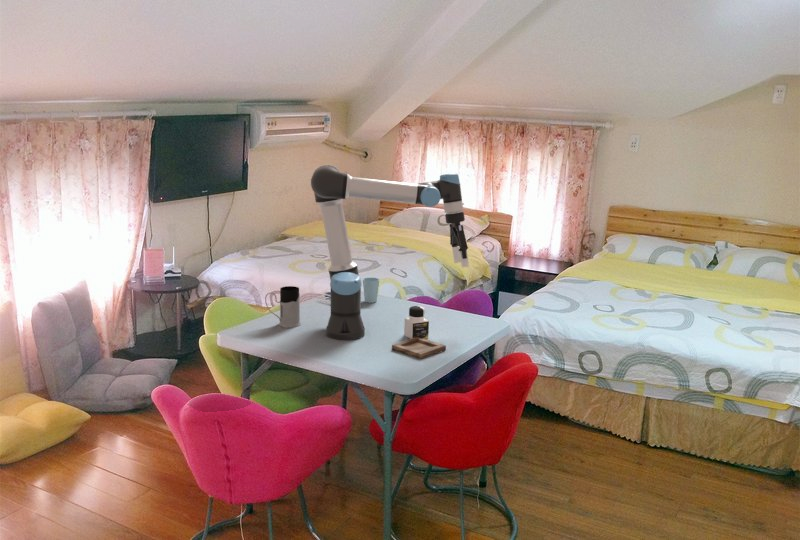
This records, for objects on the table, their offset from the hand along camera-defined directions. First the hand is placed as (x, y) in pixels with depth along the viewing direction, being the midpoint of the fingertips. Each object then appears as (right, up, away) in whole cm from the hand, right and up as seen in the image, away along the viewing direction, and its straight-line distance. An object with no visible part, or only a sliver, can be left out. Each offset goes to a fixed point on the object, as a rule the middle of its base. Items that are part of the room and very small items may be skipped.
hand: (461, 264), depth 282 cm
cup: (-38, -17, +40) cm, 58 cm away
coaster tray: (-18, -31, -25) cm, 44 cm away
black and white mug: (-72, -24, +1) cm, 76 cm away
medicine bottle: (-18, -28, -9) cm, 35 cm away
